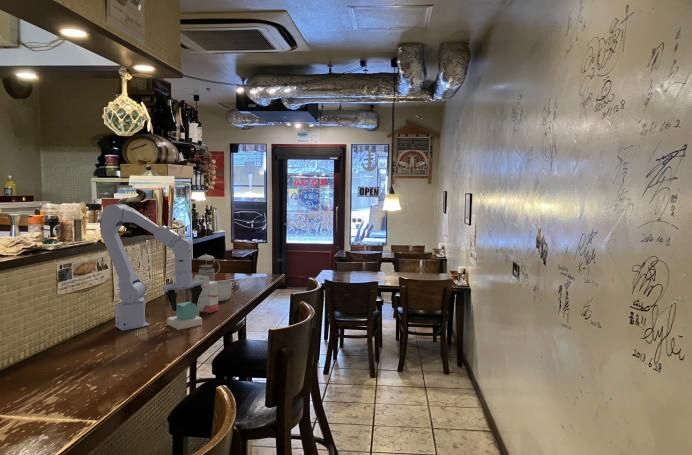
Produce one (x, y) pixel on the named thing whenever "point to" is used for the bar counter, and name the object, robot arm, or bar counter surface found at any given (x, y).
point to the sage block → (197, 310)
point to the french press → (207, 267)
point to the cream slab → (184, 322)
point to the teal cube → (186, 310)
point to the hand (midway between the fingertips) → (184, 308)
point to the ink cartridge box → (208, 295)
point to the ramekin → (224, 290)
